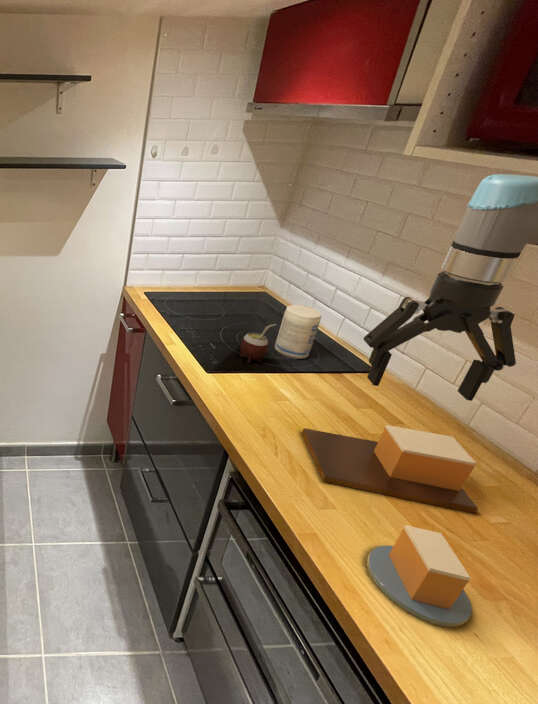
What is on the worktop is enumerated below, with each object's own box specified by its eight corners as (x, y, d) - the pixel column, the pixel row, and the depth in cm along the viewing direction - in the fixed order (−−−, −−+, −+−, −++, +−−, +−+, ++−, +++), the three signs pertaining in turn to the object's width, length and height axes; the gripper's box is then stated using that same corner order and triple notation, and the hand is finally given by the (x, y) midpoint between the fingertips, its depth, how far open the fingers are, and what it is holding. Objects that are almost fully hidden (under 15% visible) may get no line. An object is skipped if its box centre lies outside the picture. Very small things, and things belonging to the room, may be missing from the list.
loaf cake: (438, 463, 97) (452, 436, 94) (459, 491, 90) (476, 463, 87) (373, 451, 100) (385, 424, 97) (389, 477, 93) (403, 449, 90)
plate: (462, 578, 75) (465, 574, 74) (475, 646, 65) (478, 642, 65) (367, 536, 82) (369, 532, 82) (366, 591, 73) (368, 588, 72)
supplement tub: (310, 362, 137) (325, 320, 131) (275, 356, 141) (288, 314, 135) (305, 348, 145) (318, 307, 139) (272, 342, 149) (284, 302, 143)
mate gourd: (241, 350, 143) (252, 308, 137) (268, 359, 139) (281, 315, 133) (235, 360, 138) (246, 316, 132) (263, 369, 134) (276, 324, 127)
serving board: (430, 457, 101) (433, 452, 100) (475, 513, 87) (478, 508, 86) (301, 432, 108) (303, 427, 107) (323, 481, 94) (325, 476, 93)
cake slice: (422, 563, 76) (441, 532, 73) (449, 609, 69) (471, 578, 66) (388, 555, 77) (405, 524, 74) (411, 599, 71) (430, 568, 67)
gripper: (554, 278, 70) (491, 389, 79) (368, 260, 77) (329, 365, 85) (594, 296, 63) (521, 415, 72) (388, 275, 70) (344, 387, 79)
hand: (417, 388), depth 79 cm, fingers open, 13 cm apart
